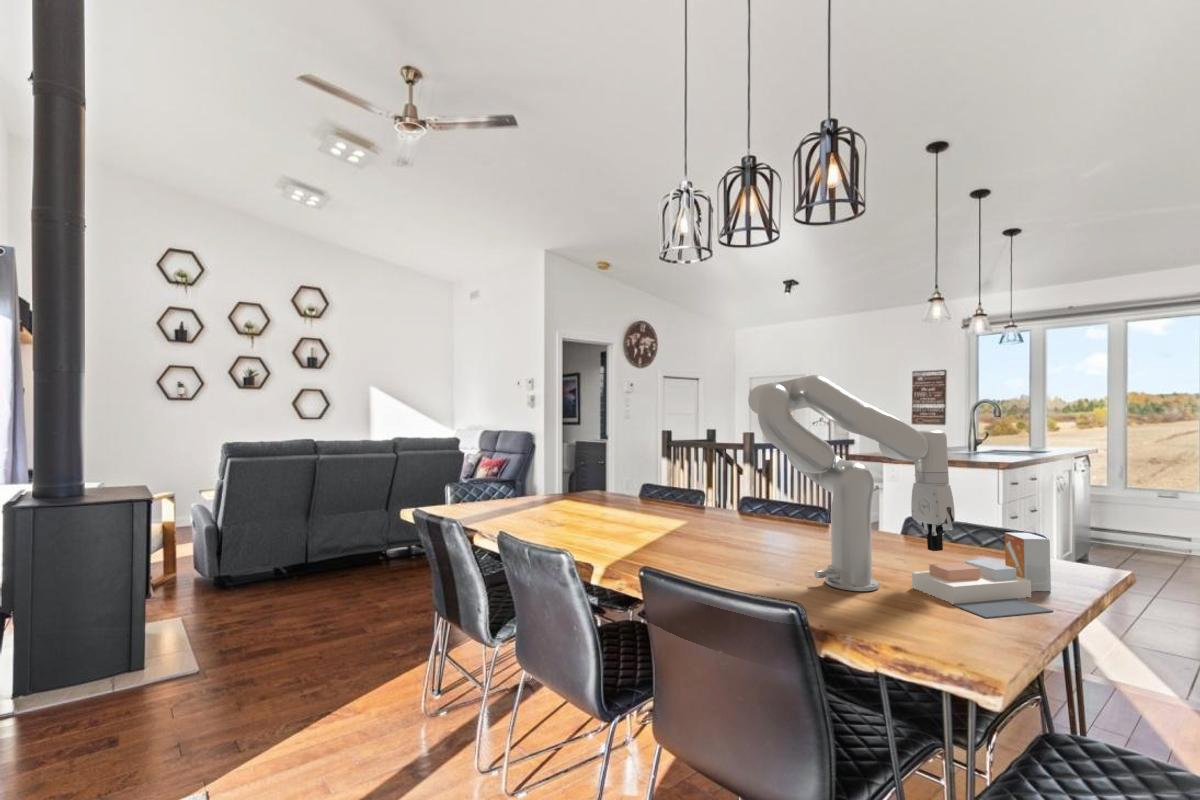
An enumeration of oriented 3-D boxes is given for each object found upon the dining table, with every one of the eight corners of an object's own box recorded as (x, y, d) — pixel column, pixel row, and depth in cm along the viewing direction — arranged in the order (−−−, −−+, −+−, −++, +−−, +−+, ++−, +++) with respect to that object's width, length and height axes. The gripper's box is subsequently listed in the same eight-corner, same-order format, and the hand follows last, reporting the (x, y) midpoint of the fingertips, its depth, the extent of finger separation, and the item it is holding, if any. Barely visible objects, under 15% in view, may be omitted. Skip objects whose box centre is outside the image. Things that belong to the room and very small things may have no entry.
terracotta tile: (948, 581, 140) (948, 570, 140) (929, 574, 146) (929, 564, 146) (980, 578, 142) (980, 568, 142) (959, 572, 148) (959, 562, 148)
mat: (985, 618, 126) (985, 617, 126) (952, 605, 135) (952, 603, 135) (1053, 611, 130) (1053, 610, 130) (1016, 599, 139) (1016, 598, 139)
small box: (1005, 582, 153) (1003, 532, 154) (1030, 582, 153) (1029, 532, 153) (1024, 591, 145) (1023, 538, 146) (1051, 592, 145) (1050, 538, 145)
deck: (954, 604, 136) (953, 586, 136) (912, 588, 148) (911, 572, 149) (1031, 597, 141) (1030, 580, 141) (984, 582, 153) (984, 566, 154)
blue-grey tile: (1016, 578, 142) (1016, 568, 142) (995, 580, 141) (995, 569, 141) (984, 569, 151) (984, 559, 151) (964, 570, 150) (964, 560, 150)
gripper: (898, 476, 158) (901, 545, 158) (942, 482, 144) (946, 558, 143) (922, 475, 160) (925, 543, 159) (968, 480, 145) (971, 555, 145)
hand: (935, 549), depth 151 cm, fingers closed
